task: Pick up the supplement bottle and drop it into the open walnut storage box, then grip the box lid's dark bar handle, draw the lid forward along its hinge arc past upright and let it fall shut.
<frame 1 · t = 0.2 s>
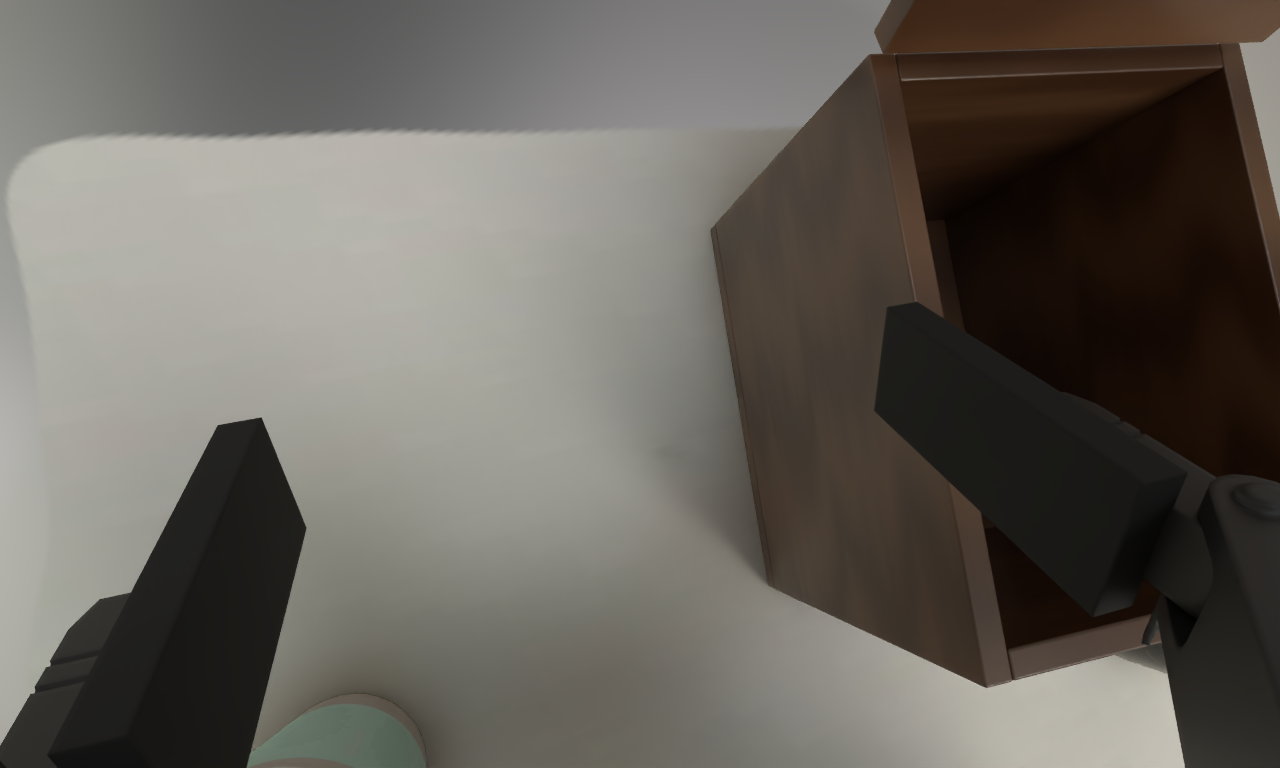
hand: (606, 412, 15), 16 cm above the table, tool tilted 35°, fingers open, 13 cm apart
supplement bottle: (1124, 588, 35), on the table
storage box: (861, 386, 33), on the table
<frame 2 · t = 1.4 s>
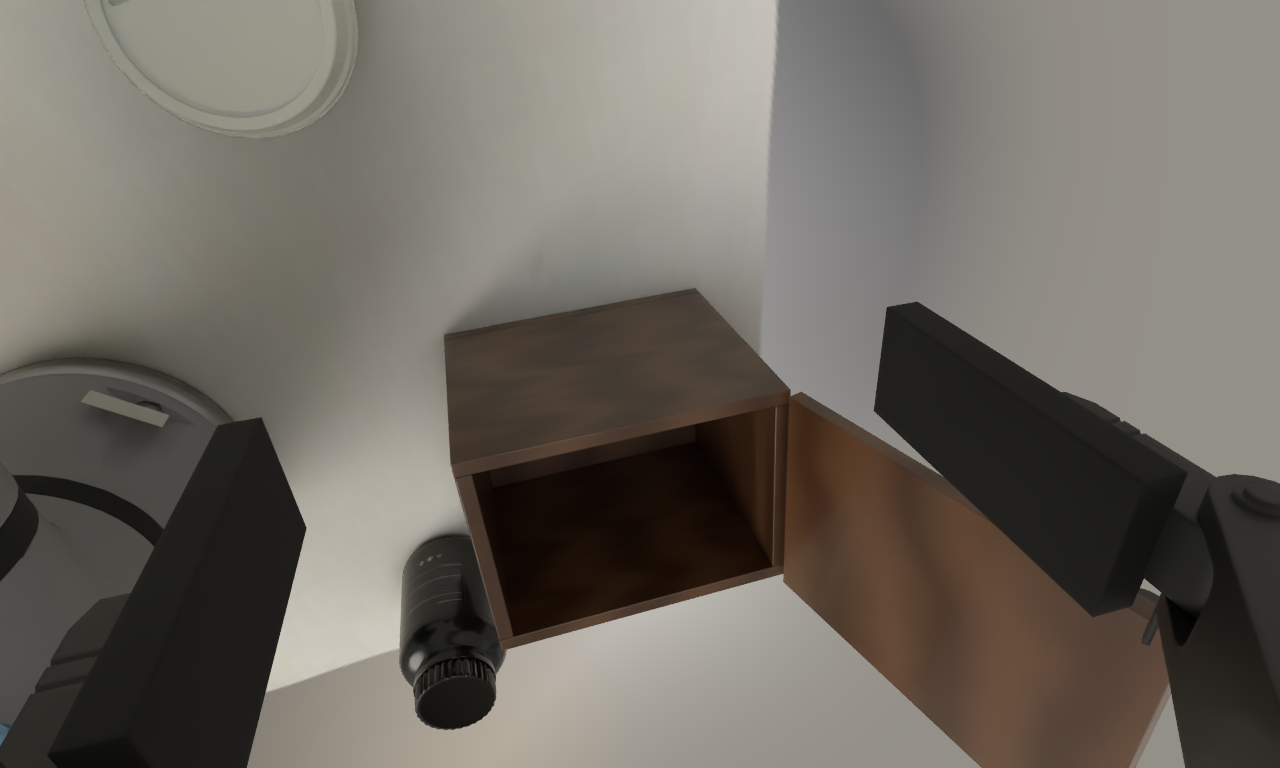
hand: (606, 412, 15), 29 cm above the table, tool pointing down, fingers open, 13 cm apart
coffee cup: (280, 9, 33), on the table
supplement bottle: (450, 566, 52), on the table
box lid: (957, 578, 31), point 23 cm above the table, hinge at 105.1°
storage box: (585, 393, 48), on the table
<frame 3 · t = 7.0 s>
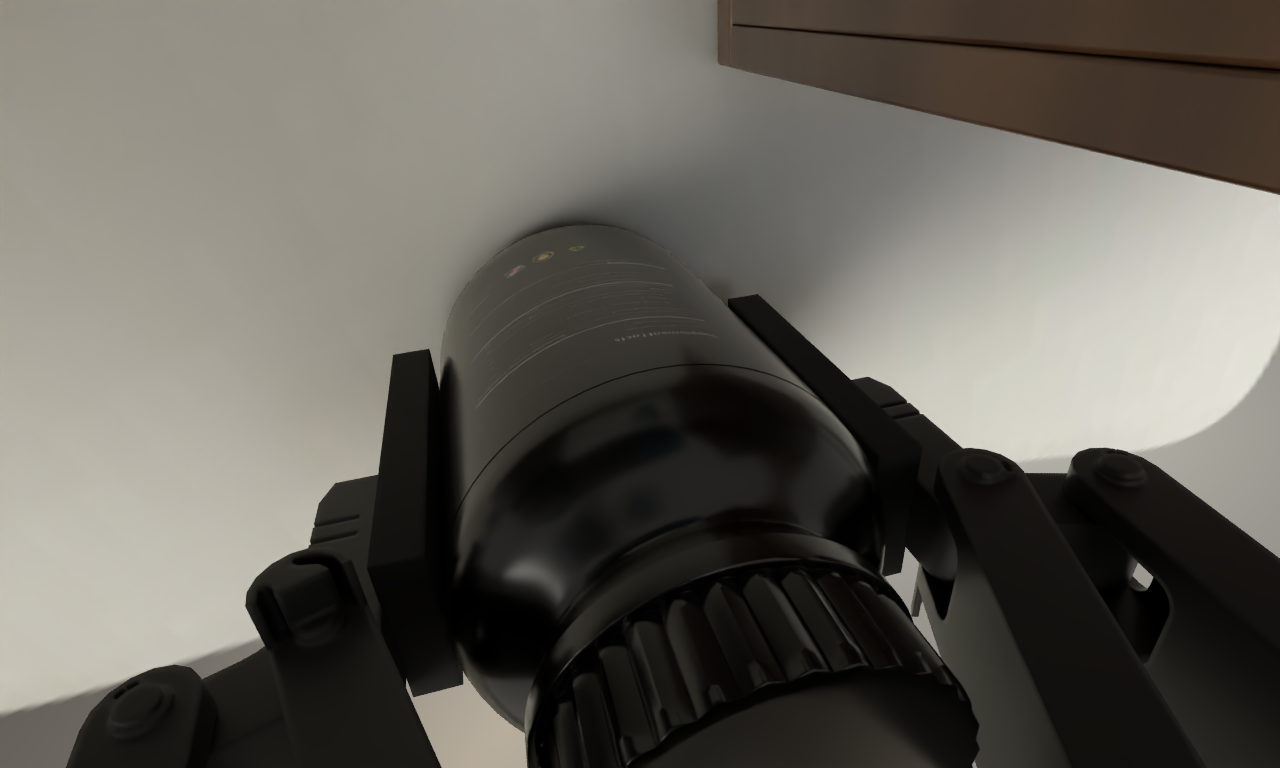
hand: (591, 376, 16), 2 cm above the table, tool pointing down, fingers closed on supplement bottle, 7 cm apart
supplement bottle: (578, 344, 17), on the table, touching gripper
when the fingers open (14 cm above the table, at t = 13.7 s): supplement bottle stays where it is, resting on storage box.
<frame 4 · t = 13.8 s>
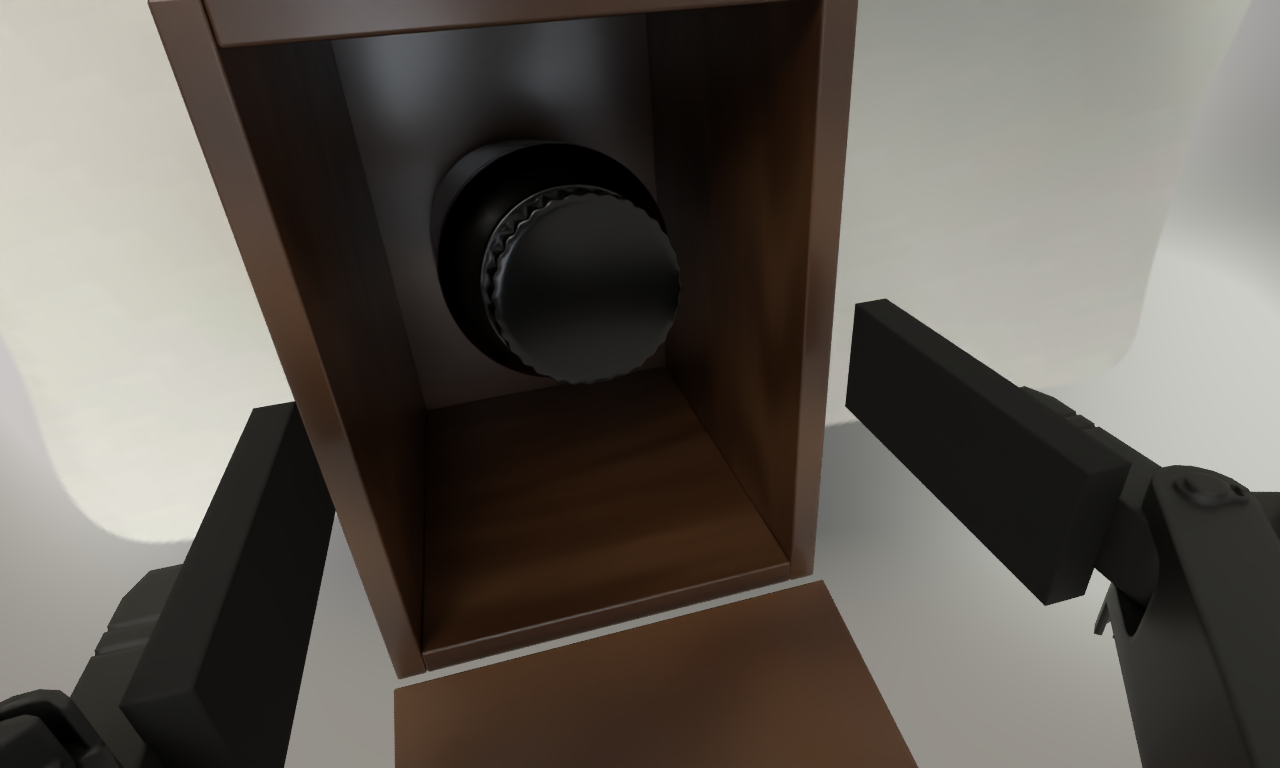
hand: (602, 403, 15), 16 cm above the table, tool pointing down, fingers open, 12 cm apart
supplement bottle: (517, 227, 27), point 1 cm above the table, touching storage box
storage box: (523, 220, 28), on the table
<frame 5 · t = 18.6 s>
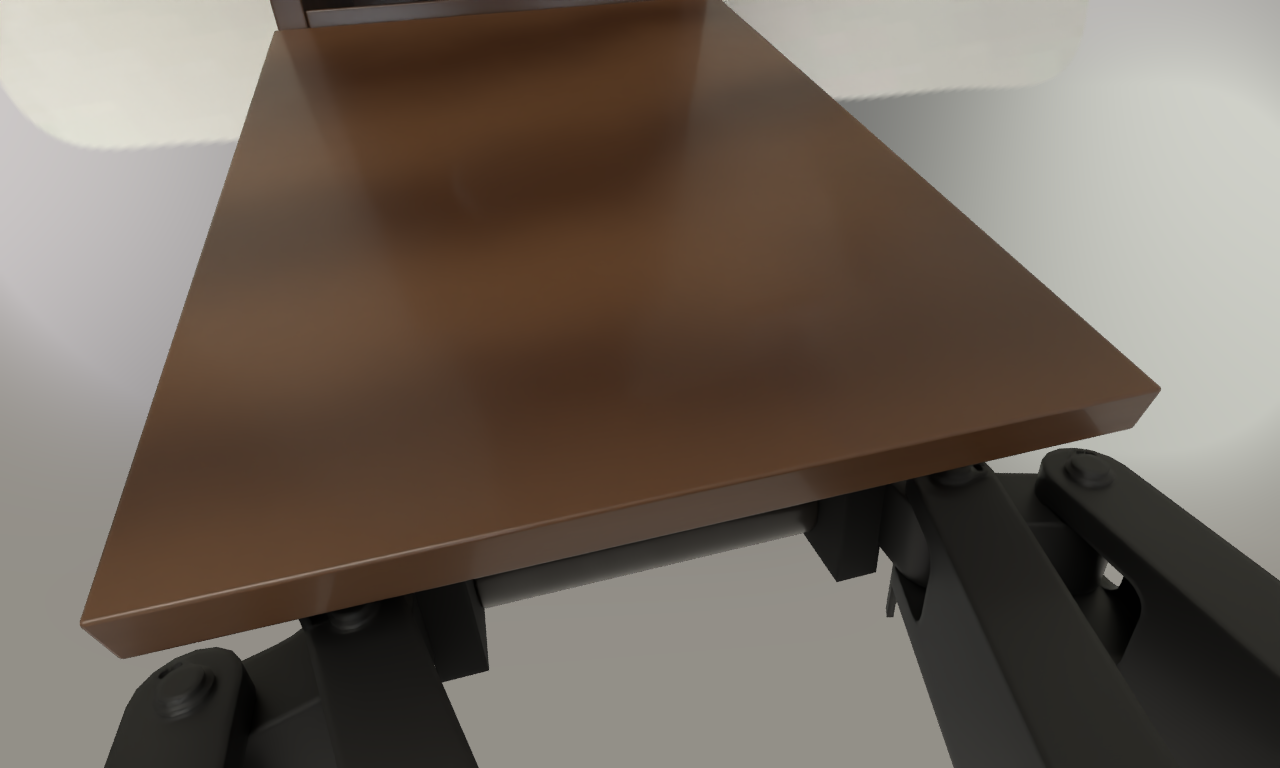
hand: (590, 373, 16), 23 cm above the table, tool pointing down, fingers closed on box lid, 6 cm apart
box lid: (571, 252, 15), point 23 cm above the table, hinge at 105.1°, touching gripper
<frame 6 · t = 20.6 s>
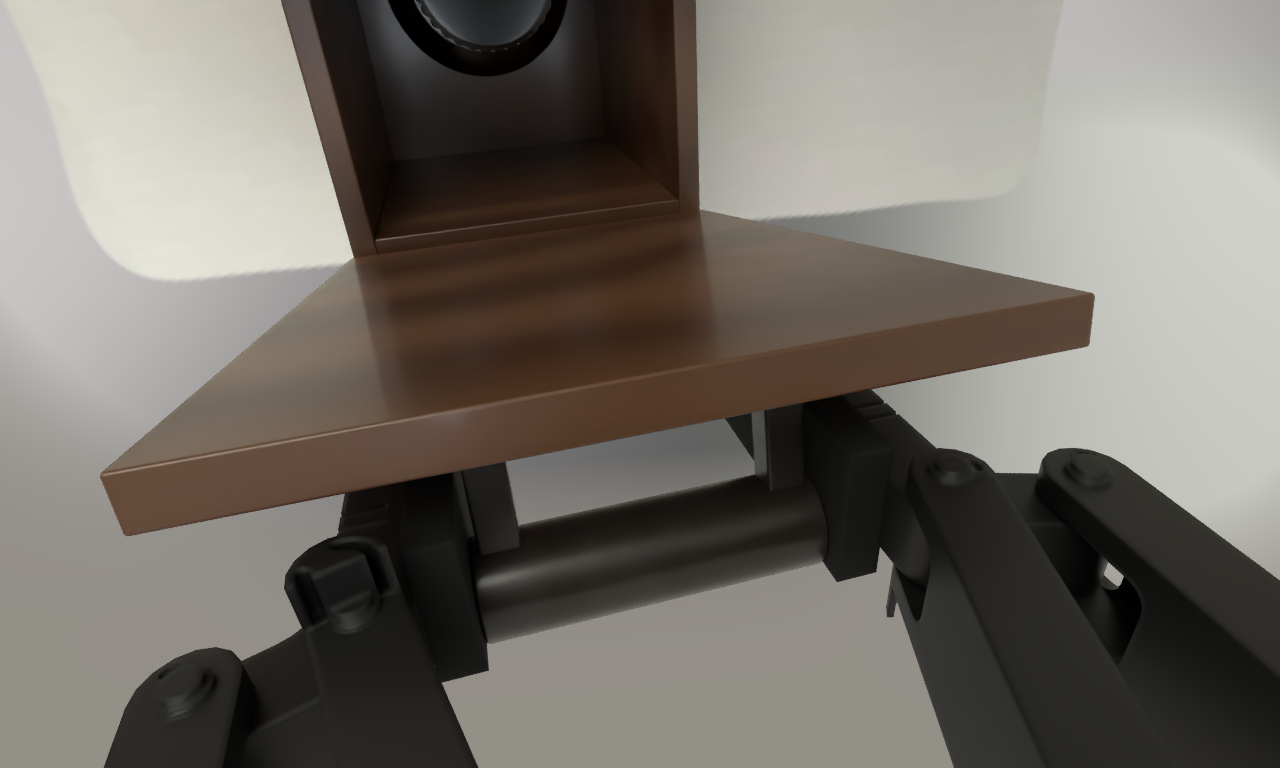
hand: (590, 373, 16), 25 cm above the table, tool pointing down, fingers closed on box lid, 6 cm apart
box lid: (583, 366, 17), point 24 cm above the table, hinge at 79.0°, touching gripper
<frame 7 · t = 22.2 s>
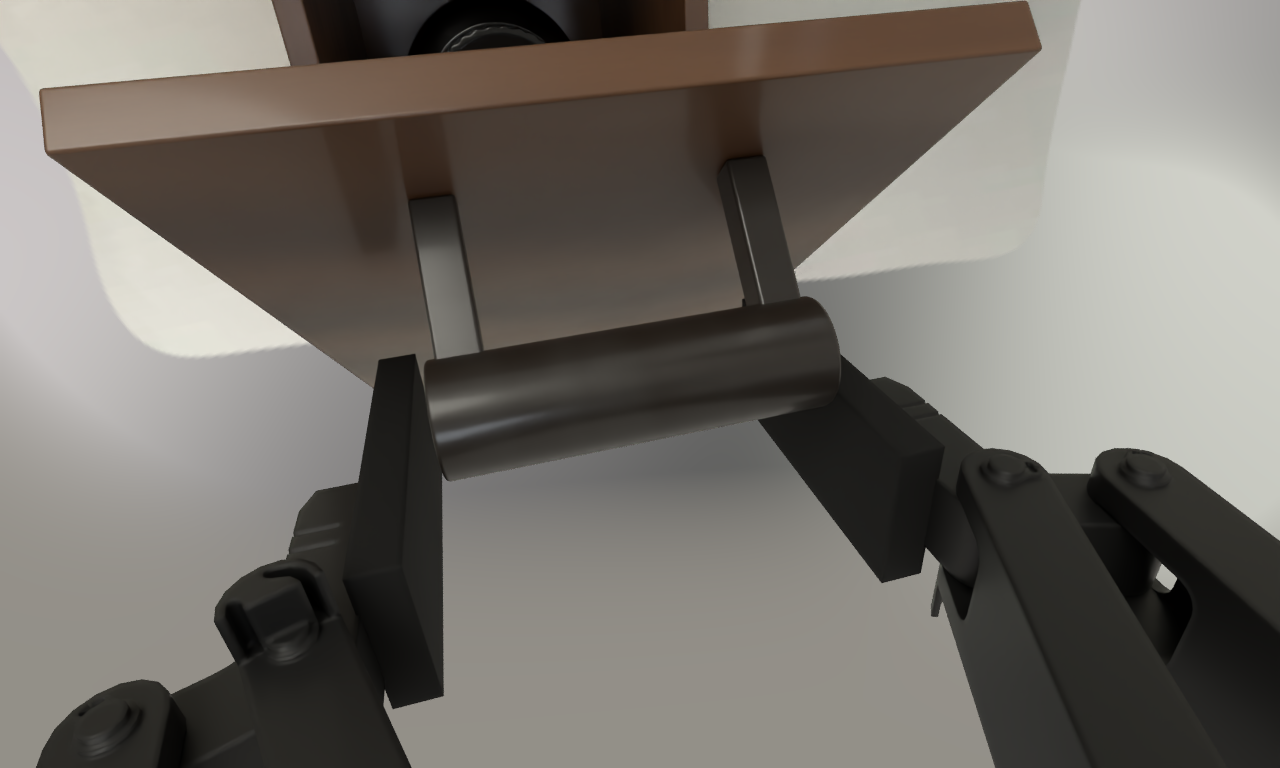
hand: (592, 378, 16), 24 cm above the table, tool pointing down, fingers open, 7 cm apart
supplement bottle: (485, 75, 33), point 1 cm above the table, touching storage box
box lid: (584, 363, 17), point 23 cm above the table, hinge at 51.3°
storage box: (492, 74, 34), on the table
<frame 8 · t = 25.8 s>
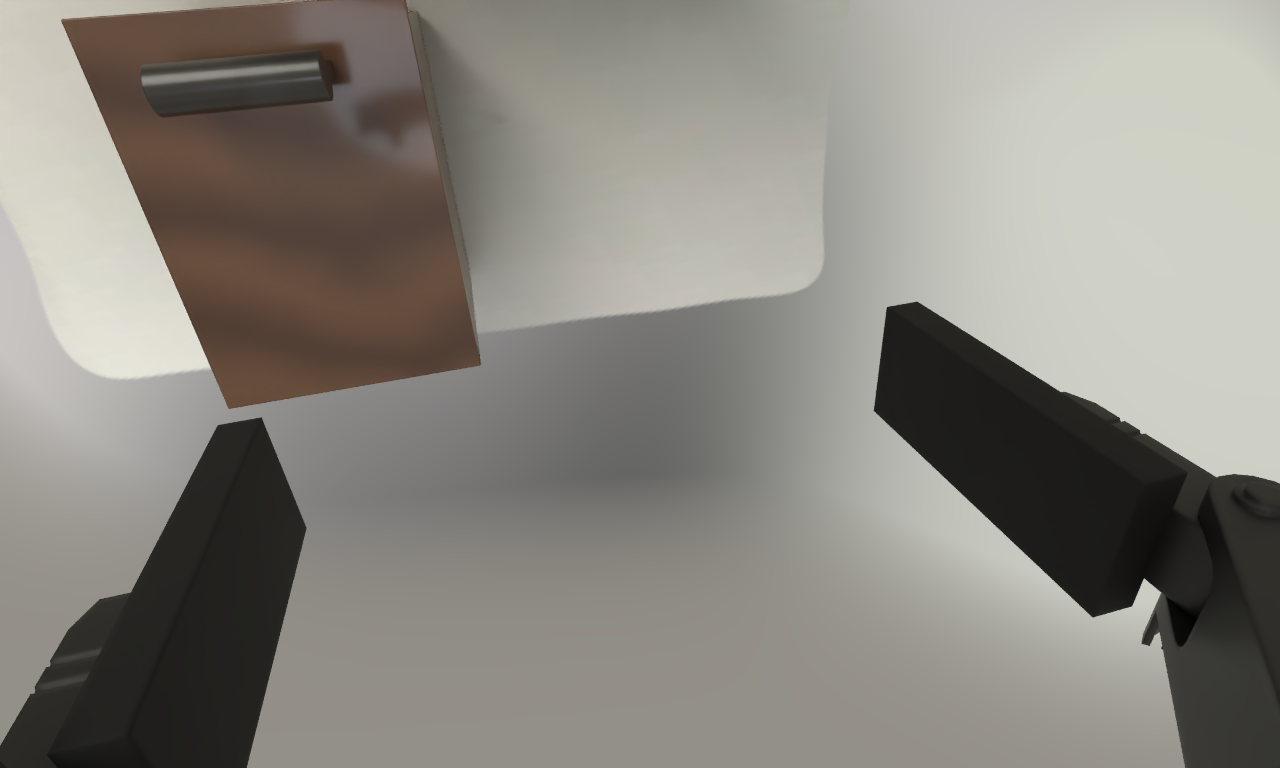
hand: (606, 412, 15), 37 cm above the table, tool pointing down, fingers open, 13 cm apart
box lid: (301, 233, 30), point 17 cm above the table, hinge at -0.1°
storage box: (347, 164, 44), on the table
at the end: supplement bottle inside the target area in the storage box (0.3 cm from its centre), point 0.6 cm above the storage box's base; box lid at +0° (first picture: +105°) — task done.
